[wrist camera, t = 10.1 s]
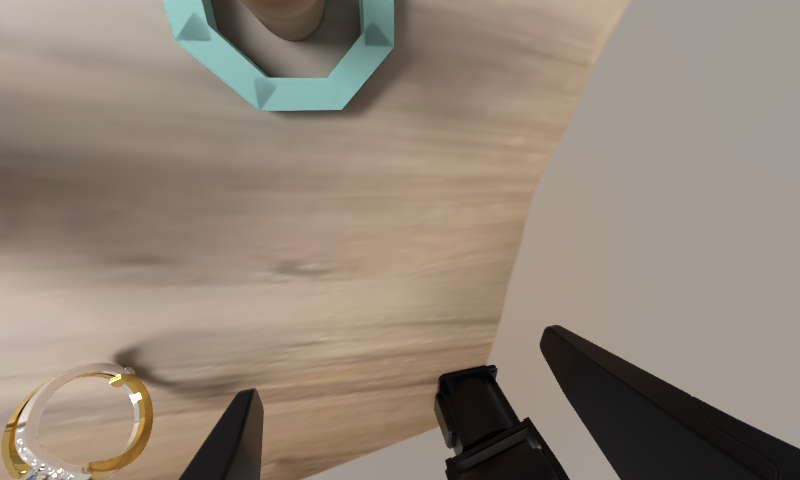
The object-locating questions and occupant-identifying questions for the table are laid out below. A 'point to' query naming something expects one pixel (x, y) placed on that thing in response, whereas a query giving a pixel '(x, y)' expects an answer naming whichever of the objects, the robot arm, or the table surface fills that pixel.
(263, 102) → the teal faceted ring
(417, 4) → the table surface
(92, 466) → the ring
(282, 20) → the brown peg
